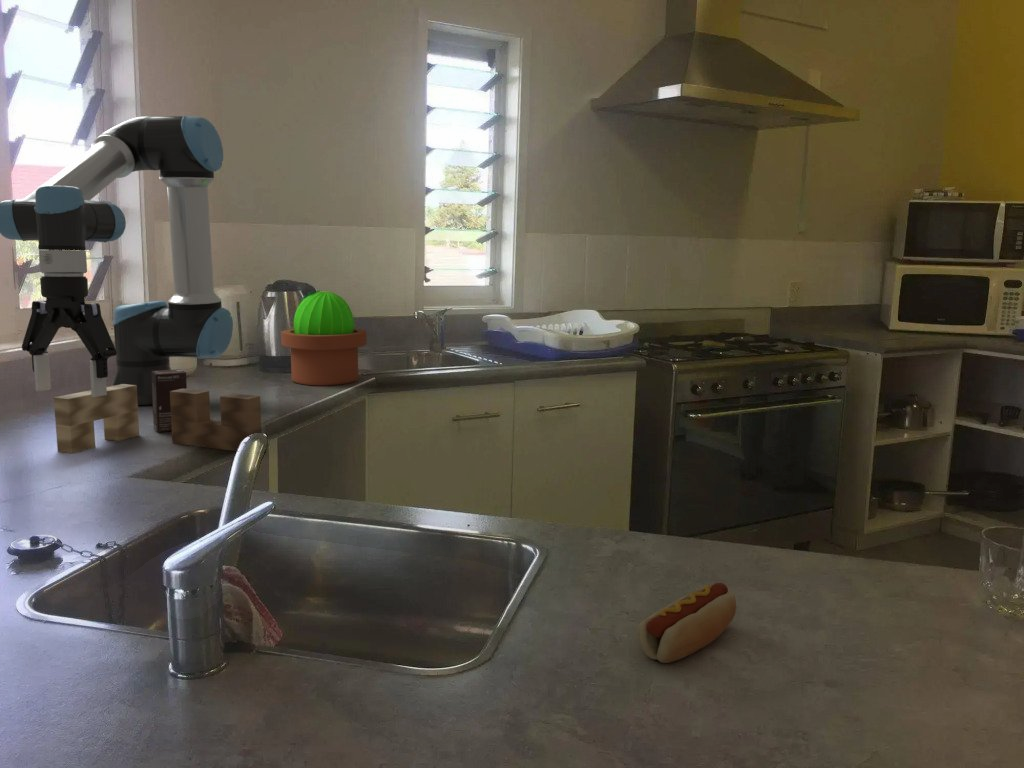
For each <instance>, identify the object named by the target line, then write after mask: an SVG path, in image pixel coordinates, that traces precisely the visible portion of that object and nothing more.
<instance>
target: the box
mask: <svg viewBox="0 0 1024 768" xmlns="http://www.w3.org/2000/svg"><path fill="white" fill-rule="evenodd" d="M151 375H152V398H153V404H152V415H153V416H152V417H153V420H152V422H153V430H154V431H155V432H157V433H162V432H172V425H171V405H170V391H173V390H178V389H183V388H184V389H188V388H187V387H188V386H187V372H186V371H185V370H183V369H179V368H178V369H171V370H160V371H152V372H151Z"/></svg>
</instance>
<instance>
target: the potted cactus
mask: <svg viewBox="0 0 1024 768" xmlns="http://www.w3.org/2000/svg"><path fill="white" fill-rule="evenodd" d="M346 300H347V299H344V297H342V296H340V295H339V294H337V293H335V291H329V289H328V290H327V289H325V290H323V291H321V290H316V291H314V290H312V291H310V292H308V293H307V295H304V296H303V297H302V298H301V300H299V302H298V303H299V304H298V305H297V306H295V307H294V308H296V309H295V310H296V311H295V312H294V318H293V322H292V323H291V324H292V325H293V326H292V325H291V328H290V329H289V328H288V329H285V330H282V331H281V332H280V338H281V346H283V347H285V348H288V349H289V348H290V366H291V367H290V368H291V369H290V370H291V371H290V372H291V381H292V382H294V383H296V384H300V385H307V386H318V387H319V386H323V387H324V386H338V385H344V384H351V383H354V382H357V381H358V380H359V348H360V347H361V348H362V347H365V346H366V345H367V343H368V342H367V339H368V338H367V336H368V335H367V331H366V330H365V329H360V328H355V327H356V326H357V324H355V319H354V314H353V313H352V311H353V309H354V308H353V309H352V310H351V307H350V306H351V304H349V303H348V302H346ZM300 301H301V302H300Z"/></svg>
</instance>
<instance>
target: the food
mask: <svg viewBox="0 0 1024 768" xmlns="http://www.w3.org/2000/svg"><path fill="white" fill-rule="evenodd" d="M736 610H737V601H736V594H735V592H734V591H729V588H728V586H727V585H726V584H725V583H723V582H715V583H713V584H712V585H709V584H704V585H702V586H701V587H699V588H698V589H696V590H694V591H692V592H689V593H688V594H685V595H684V596H681V597H679V598H678V599H676V600H674V601H673V602H671V603H669V604H666V605H665V606H664V607H662V608H660V609H659V610H657V611H654V612H653V613H652V614H650V615H649V616H647V617H645V618H644V619H643V620H641V621H640V622H639V625H638V627H637V628H638V630H637V636H638V641H639V644H640V647H641V649H642V651H643V652H644V654H645V655H646V656H647V657H648V658H649V659H651V660H655V661H656V660H657V661H659V662H660V663H662V664H669V663H673V662H676V661H680V660H682V659H684V658H685V657H688V656H690V655H692V654H694V653H695V652H697V651H699V650H701V649H704V648H705V647H707V646H709V645H710V644H711V643H713V641H715V640H716V639H718V637H720V636H721V634H723V633H724V631H725V630H726V629H727V628H728V626H729V625H730V624H731V622H733V619H734V617H735V615H736Z"/></svg>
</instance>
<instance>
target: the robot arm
mask: <svg viewBox="0 0 1024 768" xmlns="http://www.w3.org/2000/svg"><path fill="white" fill-rule="evenodd" d="M223 148H224V147H223V143H222V140H221V137H220V134H219V132H218V130H217V129H216V127H215V126H214V124H213V123H212V122H211V121H210V120H208V119H207V118H206V117H201V116H191V115H183V116H182V115H181V116H174V115H173V116H137V117H133V118H130V119H128V120H125V121H123V122H121V123H118V124H117V125H114V126H113V127H111V128H109V129H107V130H106V131H104V132H102V133H101V134H99V136H97V137H96V138H94V140H93V141H92V142H91V145H90V149H89V150H87V151H86V152H85V153H83V154H82V155H81V156H79V157H78V158H76V159H75V160H74V161H73V162H71V163H70V164H69V165H67V166H66V167H64V168H63V169H62V170H61V171H60V172H58V173H56V174H55V175H54V176H53V177H51V178H49V180H47V181H46V182H45V183H43V184H42V185H39V186H38V187H37V188H36V189H35V190H34V191H32V193H30V194H28V195H27V196H25V197H24V198H22V199H17V198H13V199H5V200H3V201H2V200H1V202H0V235H1V236H2V237H3V238H5V239H8V240H15V241H21V242H27V241H34V242H35V241H37V242H38V246H37V247H38V248H37V249H38V261H39V272H40V273H41V274H43V276H40V278H39V279H40V280H39V281H40V294H41V296H42V297H43V298H45V300H33V301H32V302H31V314H30V317H29V321H28V325H27V327H26V331H25V333H24V337H23V341H22V343H21V344H22V345H21V350H22V351H25V352H27V353H29V355H31V363H32V364H31V365H32V366H31V367H32V372H33V373H34V385H35V386H34V388H35V392H42V391H49V390H52V381H51V365H50V362H51V361H50V354H48V353H49V351H48V348H49V346H50V345H51V343H52V342H53V339H54V337H55V336H56V334H57V332H58V331H59V329H61V328H66V329H71V330H72V331H74V332H75V333H76V335H77V336H78V337H79V339H80V341H82V343H83V345H84V347H85V349H87V351H88V353H89V354H90V356H91V358H90V360H89V374H90V375H89V376H90V390H91V395H92V397H98V396H103V395H107V387H108V386H107V378H108V375H109V371H108V359H109V358H111V357H115V359H116V361H115V364H116V365H115V366H116V368H115V369H116V371H115V372H114V373H115V374H114V377H113V381H112V383H111V386H115V385H120V384H128V385H137V401H138V406H146V405H147V406H148V405H153V398H152V375H151V372H152V371H160V370H172V369H171V365H170V358H193V359H194V358H197V359H201V360H203V359H215V358H219V357H221V356H222V355H223V354H225V352H226V351H227V349H228V347H229V345H230V343H231V340H232V337H233V330H234V320H233V317H232V313H231V312H230V310H229V309H227V308H225V307H223V306H222V298H220V296H218V295H217V294H216V293H215V290H214V289H215V288H214V287H215V285H214V273H213V256H212V240H211V239H212V238H211V223H210V208H209V207H210V204H209V203H210V202H209V189H208V187H209V185H210V184H211V183H212V182H213V181H214V180H215V172H217V171H219V170H220V169H221V168H222V166H223V161H224V149H223ZM140 171H141V172H142V171H158V178H159V180H160V181H161V182H162V183H163V184H164V185H165V187H166V189H167V205H168V206H167V207H168V217H169V218H168V219H169V232H170V247H171V263H172V275H173V276H172V277H173V278H172V279H173V288H174V290H173V291H174V292H173V293H174V294H173V295H172V296H171V297H170V298H169V299H168V301H166V300H157V301H156V300H155V301H148V302H147V301H146V302H140V303H132V304H131V303H130V304H124V305H123V304H122V305H118V306H117V307H116V308H115V309H114V310H113V324H112V327H113V333H114V334H113V335H114V343H113V340H112V338H111V335H110V334H109V331H108V329H107V326H106V323H105V322H104V319H103V316H102V310H101V305H100V304H99V303H97V302H94V303H86V302H85V301H86V300H85V298H86V297H88V295H89V282H88V277H87V276H86V275H85V276H84V274H86V273H87V272H88V264H87V263H88V262H87V251H86V250H87V249H86V242H90V243H91V242H92V243H93V242H95V243H96V242H98V243H108V242H114V241H117V240H119V238H120V237H122V235H123V234H124V232H125V230H126V226H127V225H126V224H127V222H126V217H125V214H124V212H123V210H122V209H121V208H120V207H119V206H117V205H116V204H114V203H112V202H106V201H105V200H92V199H93V198H94V197H96V196H97V195H98V194H99V193H101V192H102V191H103V190H104V189H106V188H107V187H108V186H109V185H110V184H111V183H113V182H114V181H116V179H120V178H121V179H122V178H125V177H128V176H129V175H131V174H132V173H134V172H140Z"/></svg>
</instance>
